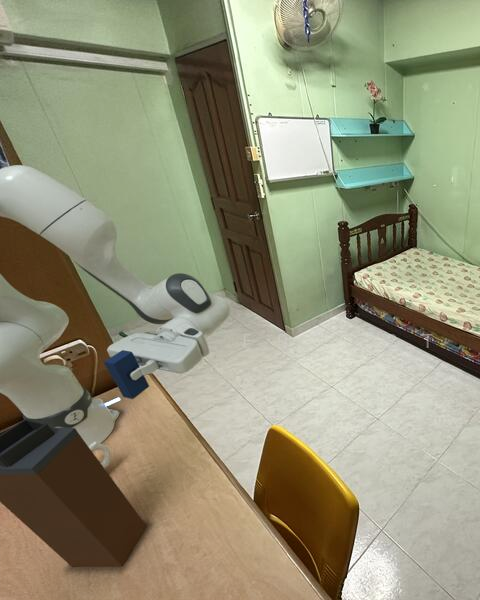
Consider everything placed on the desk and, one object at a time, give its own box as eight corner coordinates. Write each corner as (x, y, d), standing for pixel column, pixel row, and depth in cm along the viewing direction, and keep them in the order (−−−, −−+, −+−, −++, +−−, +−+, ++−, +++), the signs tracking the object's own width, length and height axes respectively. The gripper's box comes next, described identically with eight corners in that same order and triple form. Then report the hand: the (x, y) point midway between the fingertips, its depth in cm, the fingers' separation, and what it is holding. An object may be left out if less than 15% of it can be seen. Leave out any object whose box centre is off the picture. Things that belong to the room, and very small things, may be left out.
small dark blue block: (123, 397, 68) (103, 361, 63) (140, 384, 71) (122, 349, 66) (132, 399, 67) (113, 363, 62) (149, 386, 71) (132, 351, 66)
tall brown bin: (71, 567, 62) (-49, 458, 45) (101, 526, 68) (5, 417, 51) (122, 566, 62) (21, 458, 45) (147, 526, 69) (67, 417, 52)
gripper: (137, 321, 78) (76, 356, 66) (208, 333, 74) (157, 372, 63) (146, 342, 81) (90, 378, 69) (215, 354, 77) (168, 395, 66)
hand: (122, 375), depth 66 cm, fingers closed on small dark blue block, 2 cm apart
